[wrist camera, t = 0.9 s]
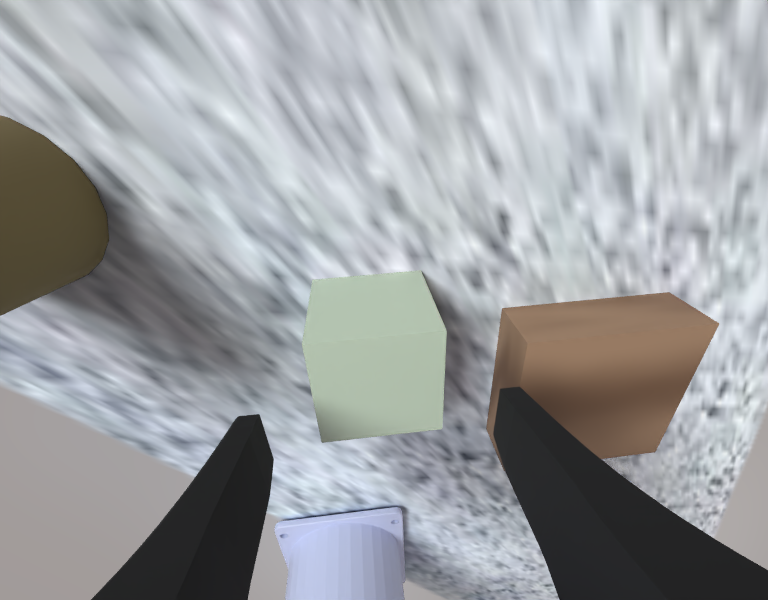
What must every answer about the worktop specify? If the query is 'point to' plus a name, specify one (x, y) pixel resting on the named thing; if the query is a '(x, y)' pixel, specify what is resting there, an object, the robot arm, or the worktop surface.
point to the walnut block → (603, 366)
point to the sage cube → (375, 356)
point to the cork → (44, 218)
